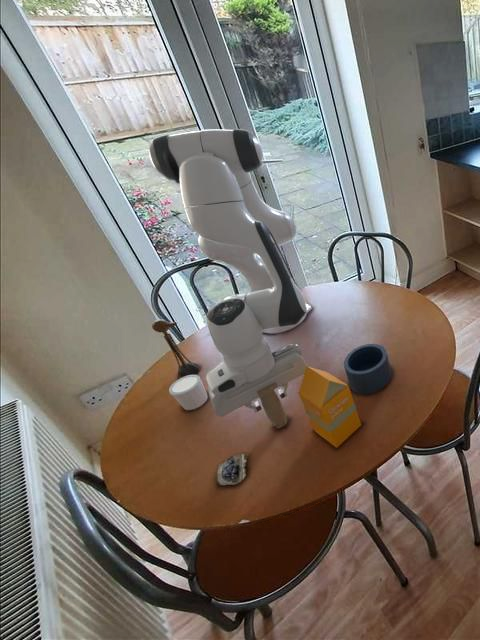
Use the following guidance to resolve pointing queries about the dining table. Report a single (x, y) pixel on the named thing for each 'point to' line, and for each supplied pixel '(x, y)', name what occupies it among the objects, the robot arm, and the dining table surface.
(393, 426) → the dining table surface
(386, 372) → the jar
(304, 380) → the orange juice
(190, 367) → the wooden tabletop sculpture
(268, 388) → the handle
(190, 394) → the white ribbed cylinder
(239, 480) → the mineral rock
